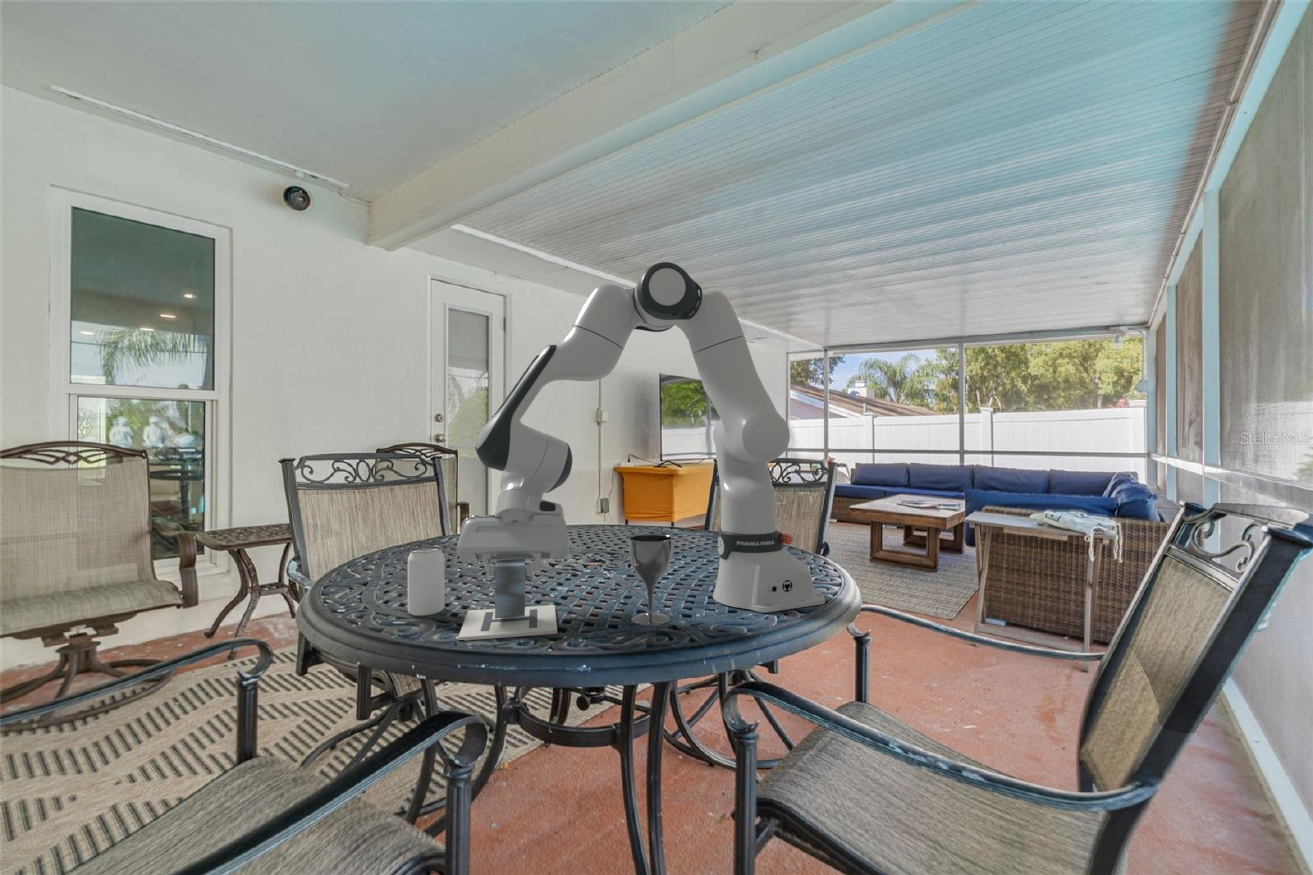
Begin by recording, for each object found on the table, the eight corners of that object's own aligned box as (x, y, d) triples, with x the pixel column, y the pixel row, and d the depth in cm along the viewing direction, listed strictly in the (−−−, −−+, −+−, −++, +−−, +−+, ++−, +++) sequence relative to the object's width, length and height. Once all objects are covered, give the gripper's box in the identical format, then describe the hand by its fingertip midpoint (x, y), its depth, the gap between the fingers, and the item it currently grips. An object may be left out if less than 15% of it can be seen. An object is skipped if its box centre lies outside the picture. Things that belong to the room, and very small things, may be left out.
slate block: (525, 607, 103) (525, 559, 103) (524, 616, 98) (524, 565, 98) (497, 609, 102) (497, 560, 102) (495, 618, 97) (495, 566, 97)
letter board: (554, 608, 109) (554, 604, 109) (557, 633, 95) (557, 629, 95) (468, 613, 105) (468, 610, 105) (458, 640, 92) (458, 637, 92)
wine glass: (621, 623, 100) (621, 539, 100) (639, 610, 108) (639, 532, 107) (663, 629, 97) (663, 543, 97) (678, 615, 105) (678, 535, 104)
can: (431, 618, 103) (431, 553, 103) (400, 615, 104) (400, 551, 104) (451, 607, 109) (451, 546, 109) (421, 605, 110) (421, 544, 110)
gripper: (460, 505, 106) (446, 570, 96) (569, 504, 108) (566, 567, 98) (466, 525, 110) (453, 588, 101) (571, 524, 112) (567, 586, 103)
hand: (510, 578), depth 99 cm, fingers closed on slate block, 5 cm apart
